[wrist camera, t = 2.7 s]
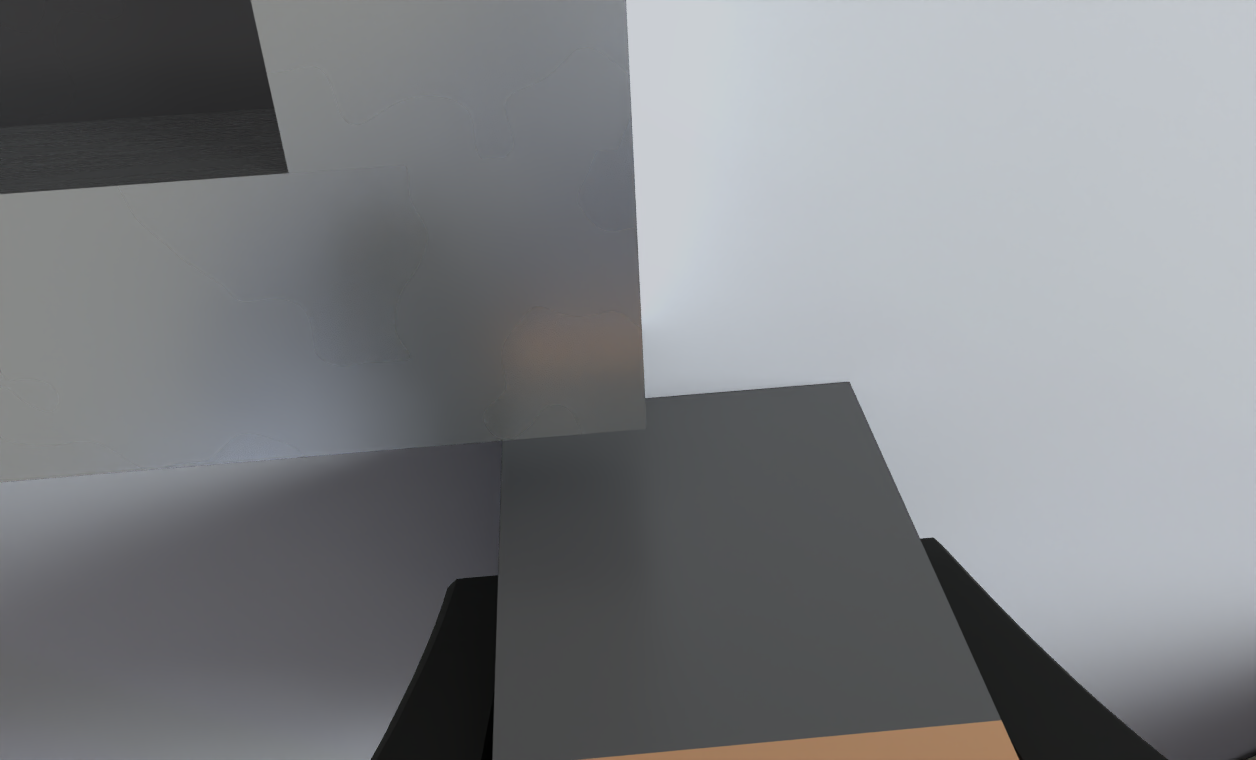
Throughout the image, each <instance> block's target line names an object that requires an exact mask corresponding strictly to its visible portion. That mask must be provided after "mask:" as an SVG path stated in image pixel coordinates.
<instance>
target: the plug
mask: <svg viewBox="0 0 1256 760" xmlns="http://www.w3.org/2000/svg"><path fill="white" fill-rule="evenodd" d="M645 409H646V429H638V430H626V431H614V432H602V433H590V434H577V435H565V436H553V437H541V438H529V439H517V440H505V441H502V470H501V502H500V534H499V566H498V598H497V630H496V662H495V694H494V727H493V759H492V760H1019V758H1018V756H1017V754H1016V752H1015V749H1014V747H1013V745H1012V743H1011V741H1010V738H1009V736H1008V734H1007V732H1006V729H1005V727H1004V725H1003V723H1002V720H1001V718H1000V716H999V714H998V712H997V709H996V707H995V705H994V703H993V700H992V698H991V696H990V694H989V692H988V689H987V687H986V685H985V683H984V680H983V678H982V676H981V674H980V671H979V669H978V667H977V665H976V663H975V660H974V658H973V656H972V654H971V651H970V649H969V647H968V645H967V643H966V640H965V638H964V636H963V634H962V631H961V629H960V627H959V625H958V623H957V620H956V618H955V616H954V614H953V611H952V609H951V607H950V605H949V602H948V600H947V598H946V596H945V594H944V591H943V589H942V587H941V585H940V582H939V580H938V578H937V576H936V574H935V571H934V569H933V567H932V565H931V562H930V560H929V558H928V556H927V554H926V551H925V549H924V547H923V545H922V542H921V540H920V538H919V536H918V533H917V531H916V529H915V527H914V525H913V522H912V520H911V518H910V516H909V513H908V511H907V509H906V507H905V505H904V502H903V500H902V498H901V496H900V493H899V491H898V489H897V487H896V484H895V482H894V480H893V478H892V476H891V473H890V471H889V469H888V467H887V464H886V462H885V460H884V458H883V456H882V453H881V451H880V449H879V447H878V444H877V442H876V440H875V438H874V436H873V433H872V431H871V429H870V427H869V424H868V422H867V420H866V418H865V415H864V413H863V411H862V409H861V407H860V404H859V402H858V400H857V398H856V395H855V393H854V391H853V389H852V387H851V384H850V382H844V383H832V384H820V385H808V386H795V387H783V388H771V389H759V390H746V391H734V392H722V393H710V394H697V395H685V396H673V397H660V398H648V399H645Z"/></svg>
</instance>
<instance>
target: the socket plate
mask: <svg viewBox="0 0 1256 760" xmlns="http://www.w3.org/2000/svg"><path fill="white" fill-rule="evenodd" d="M638 429H646V409H645V388H644V367H643V346H642V325H641V304H640V284H639V263H638V242H637V221H636V200H635V179H634V158H633V137H632V116H631V96H630V75H629V54H628V33H627V12H626V0H0V482H8V481H20V480H32V479H44V478H56V477H68V476H81V475H93V474H105V473H117V472H129V471H141V470H153V469H165V468H177V467H190V466H202V465H214V464H226V463H238V462H250V461H262V460H274V459H287V458H299V457H311V456H323V455H335V454H347V453H359V452H371V451H384V450H396V449H408V448H420V447H432V446H444V445H456V444H468V443H481V442H493V441H505V440H517V439H529V438H541V437H553V436H565V435H577V434H590V433H602V432H614V431H626V430H638Z"/></svg>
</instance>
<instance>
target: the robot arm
mask: <svg viewBox="0 0 1256 760" xmlns="http://www.w3.org/2000/svg"><path fill="white" fill-rule="evenodd" d="M920 540H921V542H922V545H923V547H924V549H925V551H926V554H927V556H928V558H929V560H930V562H931V565H932V567H933V569H934V571H935V574H936V576H937V578H938V580H939V582H940V585H941V587H942V589H943V591H944V594H945V596H946V598H947V600H948V602H949V605H950V607H951V609H952V611H953V614H954V616H955V618H956V620H957V623H958V625H959V627H960V629H961V631H962V634H963V636H964V638H965V640H966V643H967V645H968V647H969V649H970V651H971V654H972V656H973V658H974V660H975V663H976V665H977V667H978V669H979V671H980V674H981V676H982V678H983V680H984V683H985V685H986V687H987V689H988V692H989V694H990V696H991V698H992V700H993V703H994V705H995V707H996V709H997V712H998V714H999V716H1000V718H1001V720H1002V723H1003V725H1004V727H1005V729H1006V732H1007V734H1008V736H1009V738H1010V741H1011V743H1012V745H1013V747H1014V749H1015V752H1016V754H1017V756H1018V758H1019V760H1168V759H1166V758H1165V757H1164V756H1163V755H1161V754H1160V753H1159V752H1158V751H1156V750H1155V749H1154V748H1153V747H1152V746H1150V745H1149V744H1148V743H1147V742H1146V741H1144V740H1143V739H1142V738H1141V737H1139V736H1138V735H1137V734H1136V733H1135V732H1134V731H1132V730H1131V729H1130V728H1129V727H1128V726H1127V725H1125V724H1124V723H1123V722H1122V721H1121V720H1120V719H1119V718H1117V717H1116V716H1115V715H1114V714H1113V713H1112V712H1110V711H1109V710H1108V709H1107V708H1106V707H1105V706H1103V705H1102V704H1101V703H1100V702H1099V701H1098V700H1097V699H1096V698H1095V697H1093V696H1092V695H1091V694H1090V693H1089V692H1088V691H1087V690H1086V689H1085V688H1083V687H1082V686H1081V685H1080V684H1079V683H1078V682H1077V681H1076V680H1075V679H1074V678H1073V677H1072V676H1071V675H1069V674H1068V673H1067V672H1066V671H1065V670H1064V669H1063V668H1062V667H1061V666H1060V665H1059V664H1058V663H1057V662H1056V661H1055V660H1054V659H1053V658H1052V657H1051V656H1050V655H1049V654H1047V653H1046V652H1045V651H1044V650H1043V649H1042V648H1041V647H1040V646H1039V645H1038V644H1037V643H1036V642H1035V641H1034V640H1033V639H1032V638H1031V637H1030V636H1029V635H1028V634H1027V633H1026V632H1025V631H1024V630H1023V629H1022V628H1021V627H1020V626H1019V625H1018V624H1017V623H1016V622H1015V621H1014V620H1013V619H1012V618H1011V617H1010V616H1009V615H1008V614H1007V613H1006V612H1005V611H1004V610H1003V609H1002V608H1001V607H1000V606H999V605H998V604H997V603H996V602H995V601H994V600H993V599H992V598H991V597H990V596H989V595H988V593H987V592H986V591H985V590H984V589H983V588H982V587H981V586H980V585H979V584H978V583H977V582H976V581H975V580H974V579H973V578H972V577H971V576H970V574H969V573H968V572H967V571H966V570H965V569H964V568H963V567H962V566H961V565H960V564H959V563H958V562H957V561H956V560H955V559H954V557H953V556H952V555H951V554H950V553H949V552H948V551H947V550H946V549H945V548H944V547H943V546H942V545H941V544H940V543H939V542H938V541H937V540H936V539H934V538H923V539H920ZM497 598H498V576H486V577H475V578H463V579H456V580H455V581H454V582H453V583H452V584H451V585H450V586H449V587H448V588H447V592H446V595H445V598H444V601H443V605H442V607H441V610H440V613H439V616H438V619H437V621H436V624H435V627H434V629H433V632H432V634H431V637H430V639H429V642H428V644H427V646H426V649H425V651H424V653H423V656H422V658H421V660H420V662H419V665H418V667H417V669H416V672H415V674H414V676H413V678H412V680H411V682H410V684H409V686H408V688H407V690H406V693H405V695H404V697H403V699H402V701H401V703H400V705H399V707H398V709H397V711H396V713H395V715H394V717H393V719H392V721H391V723H390V725H389V727H388V729H387V731H386V733H385V735H384V737H383V739H382V740H381V742H380V744H379V746H378V748H377V750H376V751H375V753H374V755H373V757H372V758H371V760H492V759H493V727H494V694H495V662H496V630H497Z"/></svg>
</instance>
